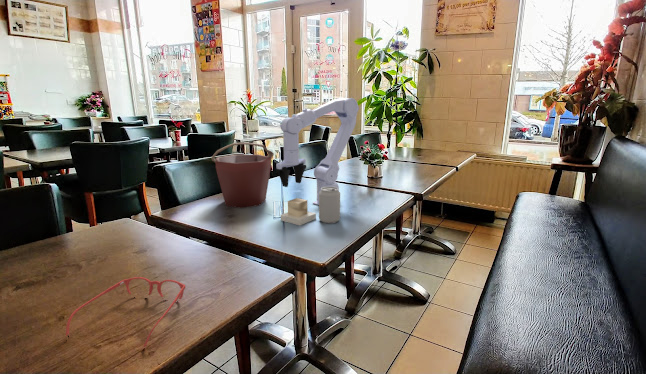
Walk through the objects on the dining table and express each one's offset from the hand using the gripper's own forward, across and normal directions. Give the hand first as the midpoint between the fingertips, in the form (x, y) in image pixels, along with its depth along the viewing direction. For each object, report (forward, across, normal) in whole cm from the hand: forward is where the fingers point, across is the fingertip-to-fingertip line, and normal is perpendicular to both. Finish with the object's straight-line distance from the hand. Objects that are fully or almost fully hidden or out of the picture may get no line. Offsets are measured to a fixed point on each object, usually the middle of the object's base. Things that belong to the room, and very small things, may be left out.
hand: (291, 184), depth 135 cm
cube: (+8, +8, +10) cm, 15 cm away
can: (+10, +2, +20) cm, 22 cm away
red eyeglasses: (+10, +72, +22) cm, 76 cm away
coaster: (+10, +8, +10) cm, 16 cm away
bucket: (+10, +5, -22) cm, 25 cm away
